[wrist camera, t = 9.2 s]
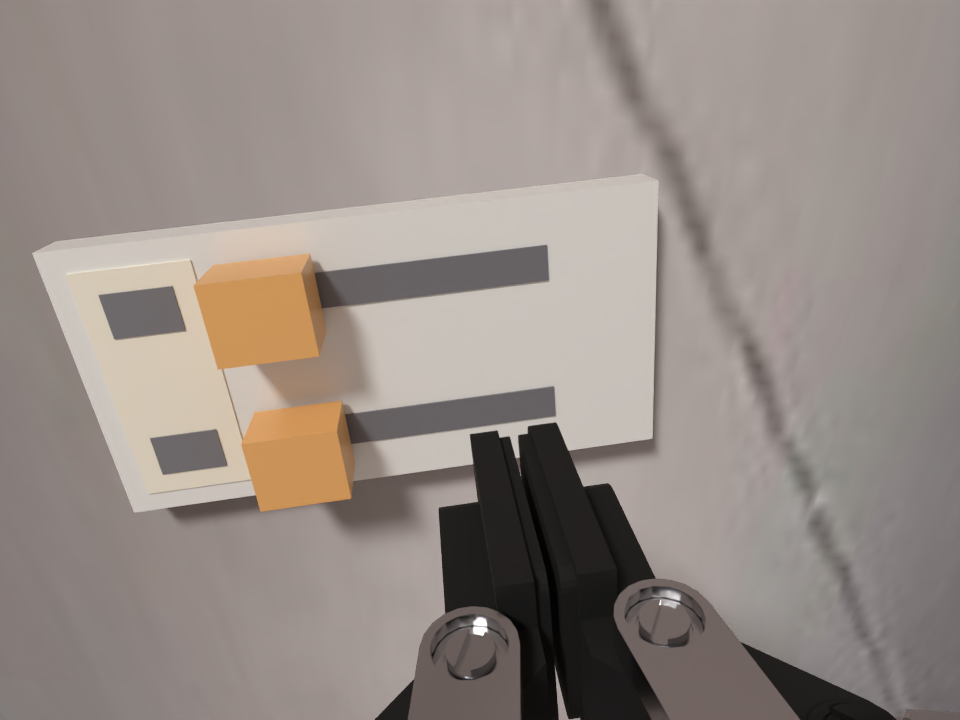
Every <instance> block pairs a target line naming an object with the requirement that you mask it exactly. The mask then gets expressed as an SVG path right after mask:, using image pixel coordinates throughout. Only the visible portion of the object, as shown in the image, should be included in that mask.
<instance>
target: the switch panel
mask: <svg viewBox="0 0 960 720" xmlns="http://www.w3.org/2000/svg"><path fill="white" fill-rule="evenodd" d="M657 223H658V180H656V179H654V178H651V177H649V176H647V175H644V174H636V175H627V176H619V177H610V178H601V179H593V180H584V181H575V182H566V183H558V184H549V185H540V186H532V187H523V188H514V189H506V190H497V191H488V192H480V193H471V194H462V195H454V196H445V197H436V198H428V199H419V200H410V201H402V202H393V203H384V204H375V205H367V206H358V207H349V208H341V209H332V210H323V211H315V212H306V213H297V214H289V215H280V216H271V217H263V218H254V219H245V220H237V221H228V222H219V223H211V224H202V225H193V226H185V227H176V228H167V229H158V230H150V231H141V232H132V233H124V234H115V235H106V236H98V237H89V238H80V239H72V240H63V241H56V242H54V243H52V244H50V245H48V246H46V247H44V248H42V249H40V250H38V251H36V252H34V253H32V254H33V256H34V259H35V261H36V264H37V266H38V269H39V272H40V274H41V277H42V279H43V282H44V284H45V287H46V289H47V292H48V294H49V297H50V300H51V302H52V305H53V307H54V310H55V312H56V315H57V317H58V320H59V322H60V325H61V327H62V330H63V333H64V335H65V338H66V340H67V343H68V345H69V348H70V350H71V353H72V355H73V358H74V361H75V363H76V366H77V368H78V371H79V373H80V376H81V378H82V381H83V383H84V386H85V389H86V391H87V394H88V396H89V399H90V401H91V404H92V406H93V409H94V411H95V414H96V416H97V419H98V422H99V424H100V427H101V429H102V432H103V434H104V437H105V439H106V442H107V444H108V447H109V450H110V452H111V455H112V457H113V460H114V462H115V465H116V467H117V470H118V472H119V475H120V478H121V480H122V483H123V485H124V488H125V490H126V493H127V495H128V498H129V500H130V503H131V505H132V508H133V511H134V512H141V511H148V510H155V509H162V508H169V507H176V506H184V505H191V504H198V503H205V502H212V501H219V500H226V499H233V498H240V497H247V496H254V495H256V494H255V491H254V487H253V484H252V481H251V477H250V474H249V470H248V467H247V463H246V460H245V456H244V453H243V450H242V446H241V443H242V441H243V439H244V436H245V434H246V431H247V429H248V427H249V424H250V422H251V420H252V417H253V415H254V413H255V412H260V411H268V410H275V409H283V408H290V407H298V406H305V405H313V404H320V403H327V402H335V401H342V402H343V407H344V412H345V417H346V422H347V426H348V431H349V436H350V441H351V446H352V451H353V455H354V460H355V471H354V479H353V481H359V480H366V479H373V478H380V477H387V476H394V475H401V474H408V473H415V472H422V471H429V470H436V469H443V468H450V467H457V466H464V465H471V464H473V458H472V450H471V442H470V434H475V433H482V432H489V431H496V430H497V431H498V434H499V438H500V437H507V436H510V439H511V443H512V446H513V450H514V454H515V457H516V458H520V456H519V445H518V435H522V434H528V426H532V425H539V424H546V423H553V422H556V423H557V425H558V427H559V429H560V432H561V434H562V437H563V439H564V441H565V444H566V446H567V449H568V451H570V450H577V449H584V448H591V447H598V446H605V445H612V444H619V443H626V442H633V441H640V440H647V439H652V438H653V395H654V352H655V309H656V266H657ZM309 253H310V254H311V258H312V263H313V268H314V273H315V278H316V283H317V287H318V292H319V297H320V302H321V307H322V311H323V316H324V321H325V326H326V335H325V338H324V342H323V345H322V349H321V352H320V356H319V357H312V358H304V359H297V360H289V361H281V362H273V363H266V364H258V365H250V366H243V367H235V368H227V369H219V370H218V368H217V365H216V362H215V358H214V355H213V351H212V348H211V344H210V341H209V338H208V334H207V331H206V327H205V324H204V321H203V317H202V314H201V310H200V307H199V303H198V300H197V297H196V293H195V290H194V286H193V285H194V284H195V283H196V282H197V281H198V280H199V279H200V278H201V277H202V276H203V275H204V274H205V273H206V272H207V271H208V270H209V269H210V268H211V267H212V265H217V264H226V263H234V262H242V261H251V260H259V259H268V258H276V257H284V256H293V255H301V254H309Z"/></svg>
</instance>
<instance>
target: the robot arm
mask: <svg viewBox="0 0 960 720" xmlns="http://www.w3.org/2000/svg"><path fill="white" fill-rule="evenodd" d="M470 442H471V450H472V458H473V466H474V474H475V481H476V489H477V497H478V502H475V503H468V504H461V505H454V506H447V507H441V508H439V523H440V538H441V553H442V569H443V584H444V599H445V614H444V615H442V616H441V617H440V618H438V619H437V620H436V621H434V622H433V623H432V624H431V626H430V627H429V628H428V630H427V631H426V632H425V633H424V635H423V638H422V641H421V644H420V647H419V653H418V659H417V665H416V672H415V678H414V680H413V681H412V682H411V683H410V684H409V685H408V686H407V687H406V688H405V689H404V690H403V691H402V692H401V693H400V694H399V695H398V696H397V697H396V698H395V699H394V700H393V701H392V702H391V703H390V704H389V705H388V706H387V708H386V709H385V710H384V711H383V712H382V713H381V714H380V715H379V716H378V717H377V718H376V719H375V720H559V718H558V704H557V690H556V677H555V667H556V671H557V675H558V679H559V684H560V688H561V692H562V696H563V700H564V704H565V708H566V712H567V716H568V718H569V719H574V718H580V719H581V720H960V712H949V711H932V710H915V709H906V710H905V714H904V717H893V716H892V715H891V714H890V713H889V712H887V711H886V710H884V709H882V708H880V707H879V706H877V705H875V704H873V703H872V702H870V701H868V700H866V699H864V698H862V697H859V696H857V695H855V694H853V693H851V692H848V691H846V690H844V689H842V688H840V687H838V686H835V685H833V684H831V683H829V682H827V681H824V680H822V679H820V678H818V677H816V676H814V675H811V674H809V673H807V672H805V671H803V670H800V669H798V668H796V667H794V666H792V665H789V664H787V663H785V662H783V661H781V660H779V659H776V658H774V657H772V656H770V655H768V654H765V653H763V652H761V651H759V650H757V649H755V648H752V647H750V646H748V645H746V644H744V643H741V642H740V641H739V640H738V639H737V637H736V636H735V635H734V634H733V632H732V631H731V630H730V628H729V627H728V626H727V625H726V623H725V622H724V621H723V619H722V618H721V617H720V615H719V614H718V613H717V612H716V610H715V609H714V608H713V606H712V605H711V604H710V603H709V602H708V601H707V600H706V599H705V598H704V597H703V596H702V595H701V594H700V593H699V592H698V591H696V590H694V589H693V588H691V587H689V586H687V585H686V584H683V583H679V582H676V581H673V580H667V579H656V578H655V576H654V574H653V572H652V570H651V568H650V566H649V564H648V562H647V559H646V557H645V555H644V553H643V551H642V549H641V547H640V545H639V543H638V541H637V539H636V536H635V534H634V532H633V530H632V528H631V526H630V524H629V522H628V520H627V518H626V516H625V514H624V511H623V509H622V507H621V505H620V503H619V501H618V499H617V497H616V495H615V493H614V491H613V489H612V487H611V485H609V484H608V483H607V484H600V485H593V486H586V487H583V485H582V483H581V480H580V478H579V475H578V473H577V471H576V468H575V466H574V463H573V461H572V458H571V456H570V454H569V451H568V449H567V446H566V444H565V441H564V439H563V437H562V434H561V432H560V429H559V427H558V425H557V423H556V422H553V423H546V424H539V425H532V426H528V434H522V435H518V445H519V456H520V468H521V476H520V472H519V469H518V465H517V461H516V457H515V454H514V450H513V446H512V443H511V439H510V436H507V437H500V438H499V434H498V431H497V430H496V431H489V432H482V433H475V434H470ZM521 479H522V480H521Z"/></svg>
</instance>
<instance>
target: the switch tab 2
mask: <svg viewBox="0 0 960 720" xmlns="http://www.w3.org/2000/svg"><path fill="white" fill-rule="evenodd" d="M241 446H242V450H243V453H244V456H245V460H246V463H247V467H248V470H249V474H250V477H251V481H252V484H253V487H254V491H255V494H256V498H257V501H258V505H259V508H260V511H261V512H262V511H269V510H276V509H283V508H290V507H297V506H304V505H311V504H318V503H325V502H331V501H338V500H345V499H351V497H352V488H353V479H354V471H355V460H354V455H353V451H352V446H351V441H350V436H349V431H348V426H347V422H346V417H345V412H344V407H343V402H342V401H335V402H327V403H320V404H313V405H305V406H298V407H290V408H283V409H275V410H268V411H260V412H255V413H254V415H253V417H252V420H251V422H250V424H249V427H248V429H247V431H246V434H245V436H244V439H243V441H242V443H241Z"/></svg>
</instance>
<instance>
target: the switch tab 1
mask: <svg viewBox="0 0 960 720" xmlns="http://www.w3.org/2000/svg"><path fill="white" fill-rule="evenodd" d="M193 286H194V290H195V293H196V297H197V300H198V303H199V307H200V310H201V314H202V317H203V321H204V324H205V327H206V331H207V334H208V338H209V341H210V344H211V348H212V351H213V355H214V358H215V362H216V365H217V368H218V370H219V369H227V368H235V367H243V366H250V365H258V364H266V363H273V362H281V361H289V360H297V359H304V358H312V357H319V356H320V352H321V349H322V345H323V342H324V338H325V335H326V326H325V321H324V316H323V311H322V307H321V302H320V297H319V292H318V287H317V283H316V278H315V273H314V268H313V263H312V258H311V254H310V253H309V254H301V255H293V256H284V257H276V258H268V259H259V260H251V261H242V262H234V263H226V264H217V265H212V267H211V268H210V269H209V270H208V271H207V272H206V273H205V274H204V275H203V276H202V277H201V278H200V279H199V280H198V281H197V282H196V283H195V284H194V285H193Z"/></svg>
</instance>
